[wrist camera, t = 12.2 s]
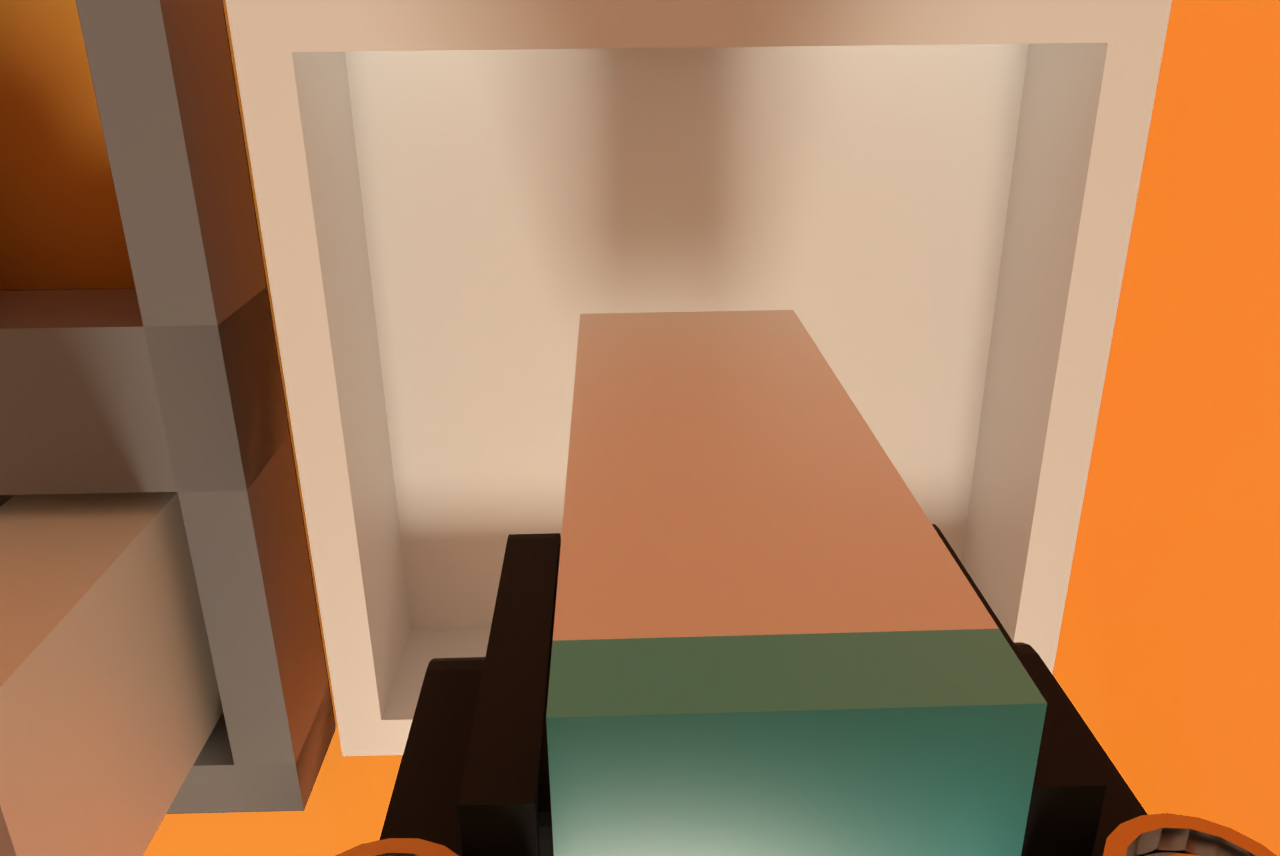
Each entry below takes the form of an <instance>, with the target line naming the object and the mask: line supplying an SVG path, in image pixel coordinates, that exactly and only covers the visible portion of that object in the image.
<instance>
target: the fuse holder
mask: <svg viewBox="0 0 1280 856" xmlns="http://www.w3.org/2000/svg"><path fill="white" fill-rule="evenodd" d="M76 4H77V9H78V13H79V18H80V23H81V28H82V33H83V38H84V42H85V47H86V52H87V57H88V62H89V66H90V71H91V76H92V81H93V86H94V91H95V95H96V100H97V105H98V110H99V115H100V120H101V124H102V129H103V134H104V139H105V144H106V148H107V153H108V158H109V163H110V168H111V173H112V177H113V182H114V187H115V192H116V197H117V201H118V206H119V211H120V216H121V221H122V226H123V230H124V235H125V240H126V245H127V250H128V255H129V259H130V264H131V269H132V274H133V279H134V283H135V288H134V289H69V290H3V291H0V507H1V506H2V505H3V504H4V503H6V502H7V501H8V500H9V499H10V498H12V497H13V496H14V495H34V494H88V493H141V492H178V496H179V500H180V505H181V510H182V515H183V520H184V525H185V529H186V534H187V539H188V544H189V549H190V554H191V558H192V563H193V568H194V573H195V578H196V582H197V587H198V592H199V597H200V602H201V607H202V611H203V616H204V621H205V626H206V631H207V635H208V640H209V645H210V650H211V655H212V660H213V664H214V669H215V674H216V679H217V684H218V689H219V693H220V698H221V703H222V708H223V713H222V715H221V716H220V718H219V720H218V722H217V723H216V725H215V727H214V729H213V731H212V732H211V734H210V736H209V738H208V740H207V741H206V743H205V745H204V747H203V749H202V750H201V752H200V754H199V756H198V757H197V759H196V761H195V763H194V765H193V766H192V768H191V770H190V772H189V774H188V775H187V777H186V779H185V781H184V783H183V784H182V786H181V788H180V790H179V791H178V793H177V795H176V797H175V799H174V800H173V802H172V804H171V806H170V808H169V809H168V811H167V813H166V814H184V813H225V812H267V811H304V809H305V806H306V804H307V801H308V799H309V796H310V793H311V791H312V788H313V786H314V783H315V781H316V778H317V775H318V773H319V770H320V768H321V765H322V763H323V760H324V757H325V755H326V752H327V750H328V747H329V745H330V742H331V739H332V737H333V734H334V732H335V722H334V716H333V710H332V703H331V697H330V690H329V684H328V677H327V671H326V665H325V658H324V652H323V645H322V639H321V633H320V626H319V620H318V613H317V607H316V601H315V594H314V588H313V581H312V575H311V569H310V562H309V556H308V549H307V543H306V537H305V530H304V524H303V517H302V511H301V505H300V498H299V492H298V485H297V479H296V472H295V466H294V460H293V453H292V447H291V440H290V434H289V428H288V421H287V415H286V408H285V402H284V396H283V389H282V383H281V376H280V370H279V364H278V357H277V351H276V344H275V338H274V332H273V325H272V319H271V312H270V306H269V300H268V293H267V287H266V280H265V274H264V267H263V261H262V255H261V248H260V242H259V235H258V229H257V223H256V216H255V210H254V203H253V197H252V191H251V184H250V178H249V171H248V165H247V159H246V152H245V146H244V139H243V133H242V127H241V120H240V114H239V107H238V101H237V94H236V88H235V82H234V75H233V69H232V62H231V56H230V50H229V43H228V37H227V30H226V24H225V18H224V11H223V5H222V0H76Z"/></svg>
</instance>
